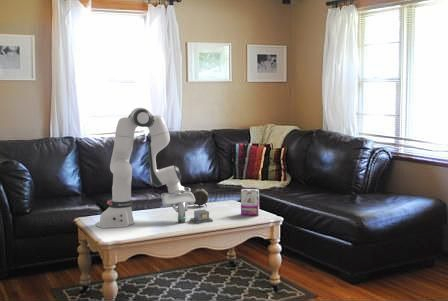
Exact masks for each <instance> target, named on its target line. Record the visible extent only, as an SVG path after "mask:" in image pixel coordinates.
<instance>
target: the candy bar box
mask: <svg viewBox="0 0 448 301" xmlns="http://www.w3.org/2000/svg"><path fill="white" fill-rule="evenodd" d="M240 215H241V216H249V217H251V216H253V217H254V216H255V217H257V216H259V215H260V190H259V188H258V189H256V188H255V189H254V188H242V189H241V190H240Z"/></svg>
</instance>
